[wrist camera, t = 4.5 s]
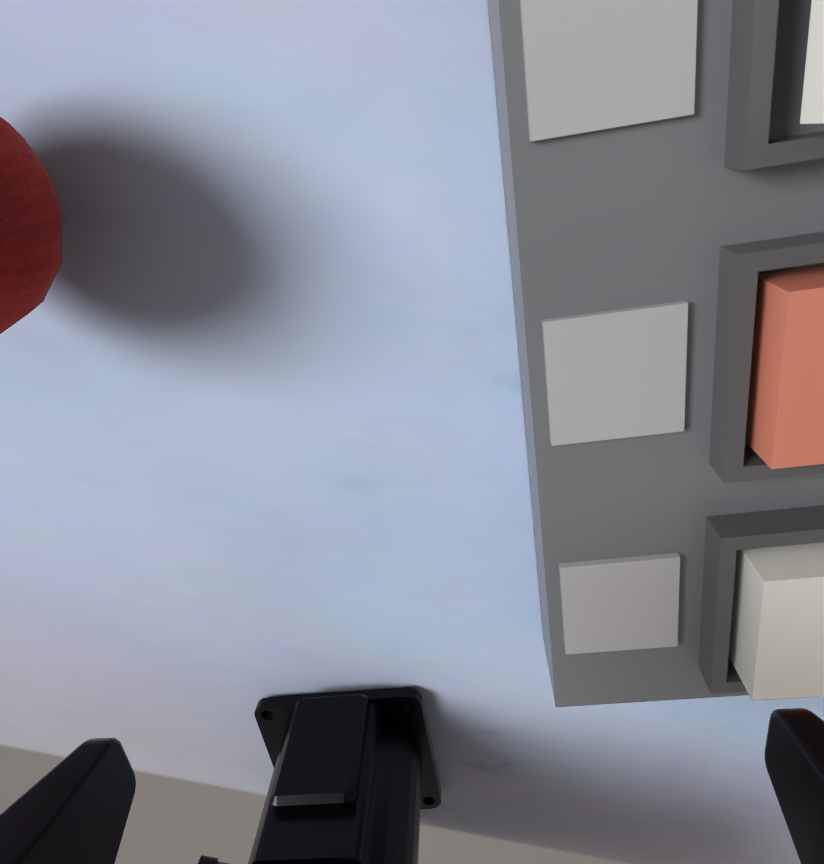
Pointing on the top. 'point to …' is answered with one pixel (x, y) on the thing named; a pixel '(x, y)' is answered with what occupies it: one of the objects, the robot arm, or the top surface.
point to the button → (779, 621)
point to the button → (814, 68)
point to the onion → (25, 228)
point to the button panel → (651, 318)
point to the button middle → (788, 369)
